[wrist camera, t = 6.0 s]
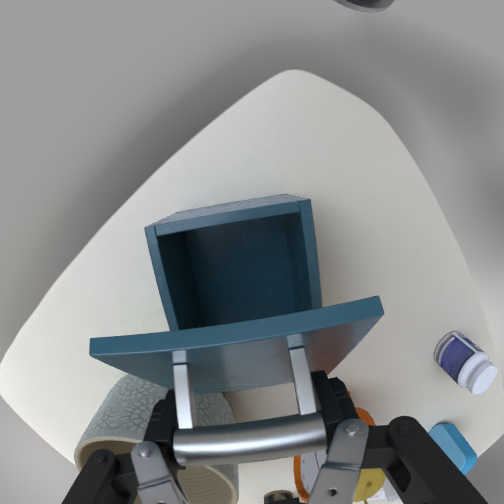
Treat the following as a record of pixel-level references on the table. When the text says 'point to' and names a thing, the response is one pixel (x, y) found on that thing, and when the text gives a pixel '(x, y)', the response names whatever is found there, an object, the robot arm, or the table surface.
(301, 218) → the chest
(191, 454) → the lid
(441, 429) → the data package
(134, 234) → the table surface
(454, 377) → the pill bottle
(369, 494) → the alarm clock
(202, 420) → the planter
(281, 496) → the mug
